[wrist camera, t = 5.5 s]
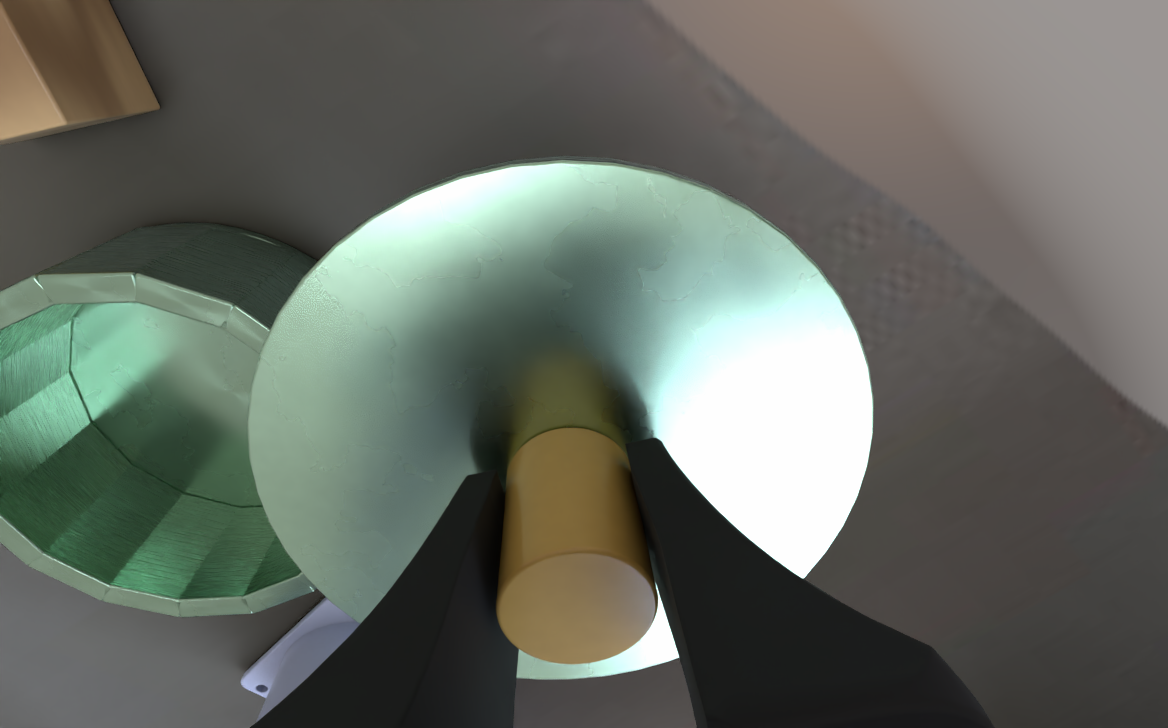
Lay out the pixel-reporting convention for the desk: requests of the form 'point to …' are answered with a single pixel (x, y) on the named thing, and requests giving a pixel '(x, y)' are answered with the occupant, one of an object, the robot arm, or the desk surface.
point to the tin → (145, 420)
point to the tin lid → (557, 394)
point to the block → (65, 68)
